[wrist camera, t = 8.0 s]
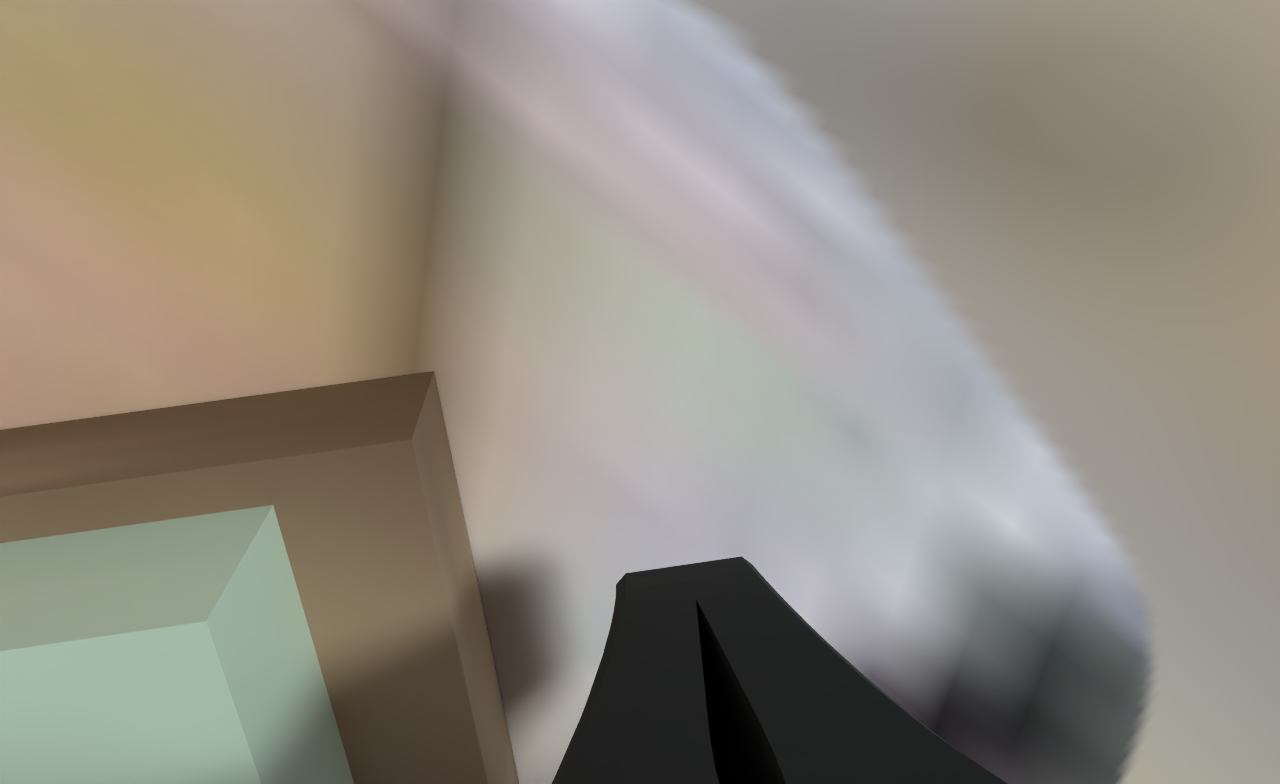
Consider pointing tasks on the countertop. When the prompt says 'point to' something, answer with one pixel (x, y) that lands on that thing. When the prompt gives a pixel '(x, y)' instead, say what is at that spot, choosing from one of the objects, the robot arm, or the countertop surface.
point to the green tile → (161, 658)
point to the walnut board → (313, 547)
